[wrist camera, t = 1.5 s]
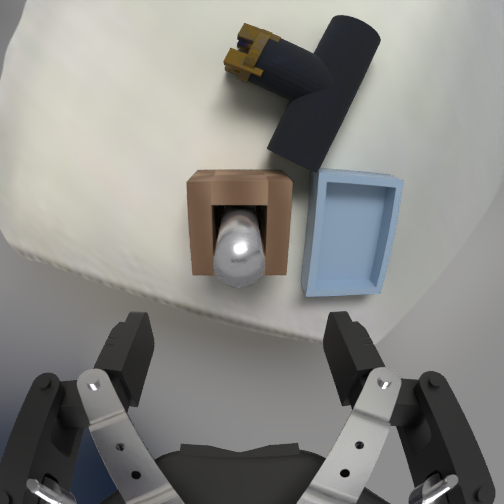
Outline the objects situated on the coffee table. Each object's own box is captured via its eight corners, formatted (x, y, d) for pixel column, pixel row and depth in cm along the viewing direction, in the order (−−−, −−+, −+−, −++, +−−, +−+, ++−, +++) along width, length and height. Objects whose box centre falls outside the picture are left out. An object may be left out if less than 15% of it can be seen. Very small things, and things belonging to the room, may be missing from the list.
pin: (255, 194, 28) (265, 242, 17) (255, 224, 29) (264, 287, 18) (223, 194, 28) (212, 242, 17) (223, 224, 29) (214, 287, 18)
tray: (389, 174, 27) (403, 180, 25) (371, 280, 33) (380, 293, 30) (311, 167, 27) (319, 172, 24) (300, 282, 32) (306, 296, 30)
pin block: (282, 170, 27) (292, 182, 22) (278, 247, 30) (286, 275, 25) (197, 170, 27) (186, 182, 21) (201, 247, 30) (192, 275, 25)
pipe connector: (194, 120, 20) (272, -24, 14) (201, 121, 25) (265, -1, 19) (324, 177, 23) (390, 38, 17) (308, 167, 27) (366, 49, 22)
